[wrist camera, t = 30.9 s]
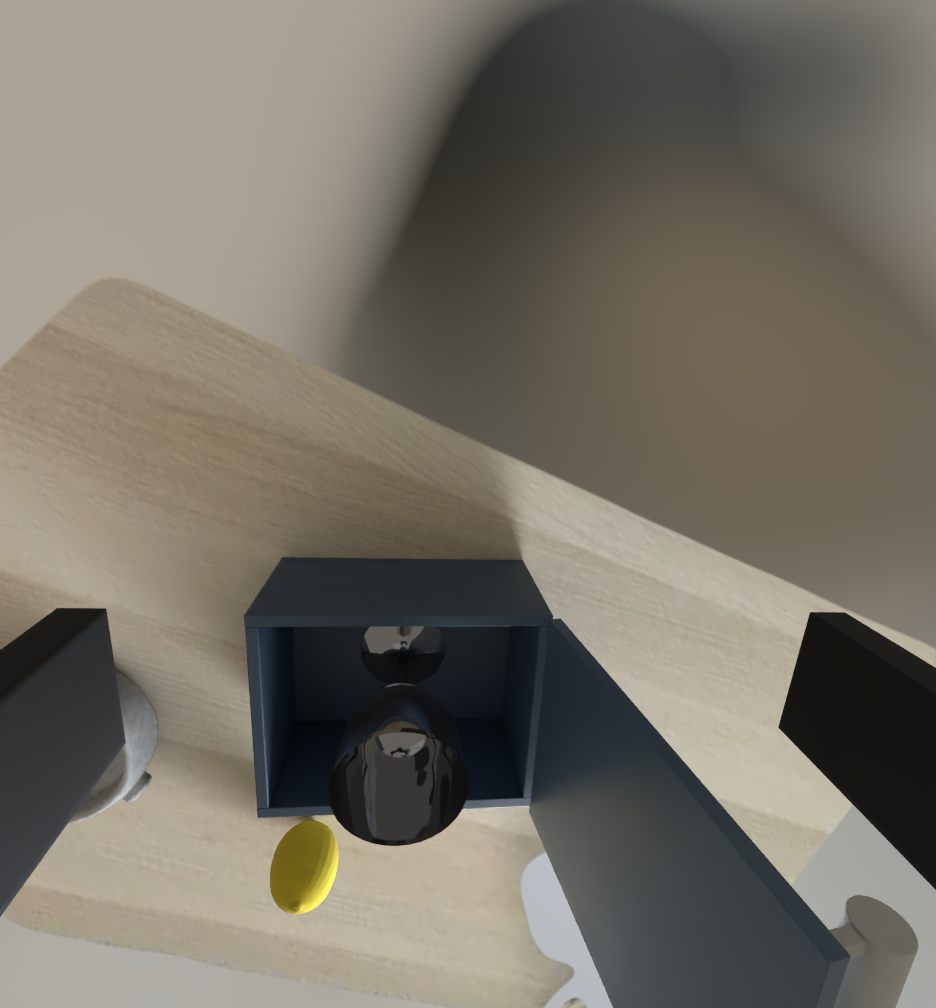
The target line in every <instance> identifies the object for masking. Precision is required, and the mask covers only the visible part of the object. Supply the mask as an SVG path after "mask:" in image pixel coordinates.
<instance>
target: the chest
mask: <svg viewBox="0 0 936 1008" xmlns="http://www.w3.org/2000/svg"><path fill="white" fill-rule="evenodd" d="M550 619H553V615H552V613H551V611H550V610H549V608H548V606H547V604H546V602H545V600H544V599H543V597H542V595H541V593H540V591H539V589H538V588H537V586H536V584H535V582H534V580H533V578H532V577H531V575H530V573H529V571H528V569H527V567H526V566H525V564H524V562H523V560H454V559H368V558H283V557H282V558H281V560H280V562H279V563H278V565H277V566H276V568H275V569H274V571H273V572H272V574H271V575H270V577H269V579H268V580H267V582H266V583H265V585H264V586H263V588H262V589H261V591H260V592H259V594H258V595H257V597H256V598H255V600H254V602H253V603H252V605H251V606H250V608H249V609H248V611H247V612H246V614H245V615H244V621H245V633H246V648H247V663H248V678H249V692H250V707H251V722H252V737H253V752H254V766H255V781H256V796H257V813H258V818H265V817H289V816H312V815H334V814H333V812H332V809H331V806H330V803H329V795H328V790H329V781H330V774H331V769H332V764H333V760H334V756H335V753H336V749H337V746H338V743H339V740H340V737H341V735H342V732H343V730H344V728H345V726H346V724H347V722H348V720H349V718H350V717H351V715H352V713H353V711H354V710H355V708H356V707H357V706H358V705H359V704H360V702H361V701H362V700H363V699H364V698H365V697H366V696H367V695H368V694H370V693H371V692H373V691H374V690H376V689H378V688H380V687H383V686H385V685H388V684H387V683H384V682H382V681H380V680H378V679H377V678H375V677H374V676H373V675H372V674H371V673H370V672H369V671H368V670H367V668H366V667H365V665H364V663H363V660H362V657H361V642H362V639H363V636H364V634H365V632H366V630H367V629H368V628H369V627H389V626H438V627H439V628H440V630H441V631H442V634H443V636H444V639H445V648H446V650H445V656H444V659H443V661H442V663H441V665H440V667H439V668H438V669H437V671H436V672H435V673H434V674H433V675H431V676H430V677H429V678H427V679H426V680H424V681H422V682H420V683H417V684H418V685H421V686H423V687H426V688H428V689H430V690H431V691H433V692H434V693H435V694H437V695H438V696H439V697H440V698H441V699H442V701H443V702H444V703H445V705H446V706H447V707H448V709H449V711H450V713H451V715H452V717H453V719H454V721H455V723H456V725H457V728H458V731H459V733H460V736H461V739H462V744H463V748H464V753H465V758H466V764H467V772H468V794H467V799H466V801H465V804H464V806H463V808H462V809H473V808H497V807H520V806H530V801H531V791H532V782H533V772H534V763H535V753H536V744H537V734H538V725H539V715H540V706H541V696H542V687H543V677H544V668H545V658H546V649H547V639H548V630H549V620H550Z"/></svg>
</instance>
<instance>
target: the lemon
mask: <svg viewBox="0 0 936 1008" xmlns="http://www.w3.org/2000/svg"><path fill="white" fill-rule="evenodd" d="M337 865H338V846H337V841H336V838H335V836H334V834H333V832H332V831H331V830H330V829H329V828H328V827H327V826H326V825H324V824H323V823H320V822H318V821H306V822H302V823H300V824H298V825H296V826H294V827H293V828H292V829H290V830H289V831H288V832H287V833H286V834H285V836H284V837H283V838H282V840H281V841H280V843H279V845H278V847H277V849H276V851H275V854H274V857H273V861H272V865H271V872H270V888H271V893H272V896H273V899H274V901H275V902H276V904H277V905H278V906H279V907H280V908H281V909H282V910H284V911H285V912H287V913H291V914H303V913H306V912H309V911H311V910H312V909H314V908H315V907H317V906H318V905H319V904H320V903H321V902H322V901H323V900H324V899H325V897H326V895H327V894H328V892H329V890H330V888H331V886H332V884H333V881H334V878H335V875H336V870H337Z"/></svg>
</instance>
